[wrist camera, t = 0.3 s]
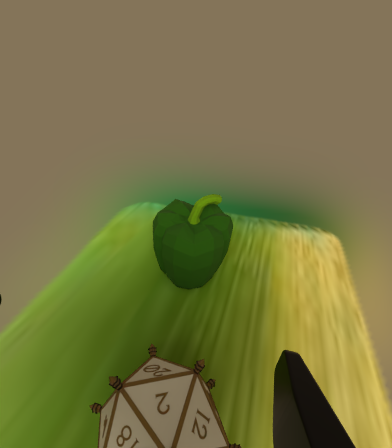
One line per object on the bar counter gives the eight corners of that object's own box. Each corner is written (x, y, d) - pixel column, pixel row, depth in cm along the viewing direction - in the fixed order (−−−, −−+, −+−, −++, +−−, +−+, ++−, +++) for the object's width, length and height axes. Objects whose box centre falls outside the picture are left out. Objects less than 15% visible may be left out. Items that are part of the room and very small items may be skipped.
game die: (131, 472, 21) (36, 394, 18) (211, 379, 24) (142, 296, 21) (189, 631, 13) (38, 545, 10) (295, 463, 16) (209, 352, 13)
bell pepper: (148, 298, 30) (148, 219, 24) (155, 247, 36) (156, 176, 31) (228, 301, 30) (246, 225, 24) (220, 251, 37) (233, 181, 31)
